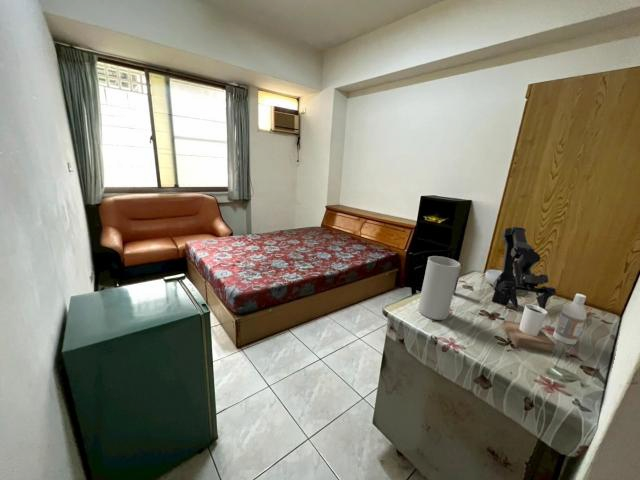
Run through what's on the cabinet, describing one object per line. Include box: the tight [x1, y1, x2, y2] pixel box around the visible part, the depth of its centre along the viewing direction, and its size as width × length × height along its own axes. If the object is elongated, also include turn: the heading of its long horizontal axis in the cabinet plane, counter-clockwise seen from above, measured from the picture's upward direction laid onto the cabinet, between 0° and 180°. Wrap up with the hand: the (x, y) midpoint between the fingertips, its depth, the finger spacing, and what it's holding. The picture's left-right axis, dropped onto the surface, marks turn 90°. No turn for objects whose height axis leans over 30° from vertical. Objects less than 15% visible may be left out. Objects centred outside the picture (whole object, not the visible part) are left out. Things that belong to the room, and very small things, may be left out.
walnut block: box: [501, 320, 556, 354], centre depth 102 cm, size 12×12×4 cm
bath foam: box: [552, 293, 587, 346], centre depth 103 cm, size 7×7×20 cm
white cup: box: [519, 303, 548, 336], centre depth 101 cm, size 7×7×10 cm
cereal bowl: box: [485, 269, 515, 286], centre depth 152 cm, size 17×17×7 cm
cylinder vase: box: [417, 255, 461, 321], centre depth 115 cm, size 12×12×25 cm
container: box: [453, 266, 462, 296], centre depth 138 cm, size 5×5×15 cm
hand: (529, 309), depth 103 cm, fingers open, 9 cm apart
